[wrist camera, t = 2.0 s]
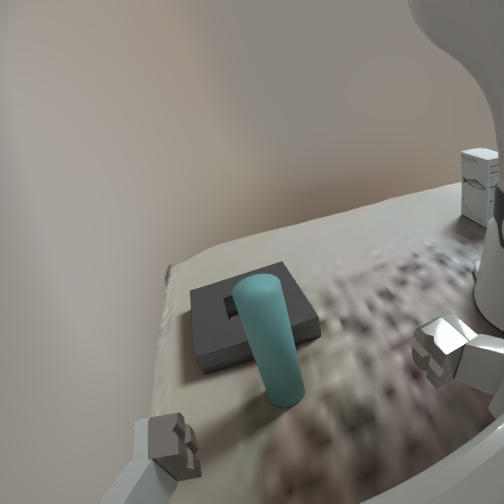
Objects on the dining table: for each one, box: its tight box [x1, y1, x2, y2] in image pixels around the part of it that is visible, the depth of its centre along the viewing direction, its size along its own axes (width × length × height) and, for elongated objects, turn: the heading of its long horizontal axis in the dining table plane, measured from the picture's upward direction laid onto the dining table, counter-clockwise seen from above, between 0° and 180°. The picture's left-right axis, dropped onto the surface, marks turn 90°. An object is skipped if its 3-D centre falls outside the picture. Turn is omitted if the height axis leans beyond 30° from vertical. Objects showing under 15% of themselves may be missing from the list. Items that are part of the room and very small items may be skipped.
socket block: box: [190, 261, 321, 374], centre depth 39 cm, size 14×14×3 cm
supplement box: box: [461, 148, 499, 228], centre depth 43 cm, size 7×7×13 cm
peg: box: [232, 274, 305, 407], centre depth 25 cm, size 4×4×13 cm
